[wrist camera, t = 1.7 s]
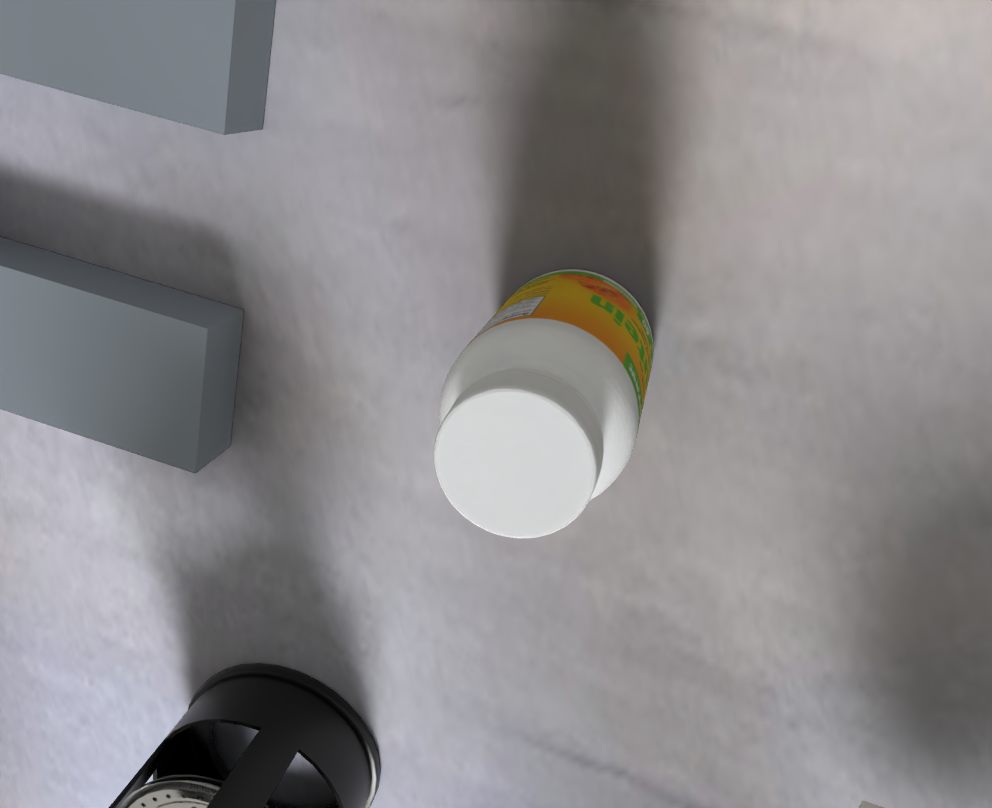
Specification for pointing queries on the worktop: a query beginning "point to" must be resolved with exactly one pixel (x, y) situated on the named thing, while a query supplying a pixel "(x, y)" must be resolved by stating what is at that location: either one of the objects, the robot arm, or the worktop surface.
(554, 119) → the worktop surface
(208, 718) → the french press
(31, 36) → the notched board
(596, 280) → the supplement bottle
